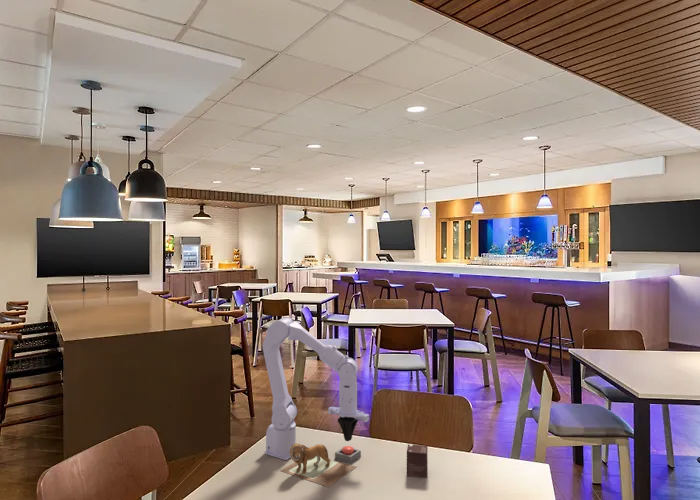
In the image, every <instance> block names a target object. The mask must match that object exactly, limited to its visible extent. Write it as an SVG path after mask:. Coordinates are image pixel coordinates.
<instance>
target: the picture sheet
mask: <svg viewBox="0 0 700 500" xmlns="http://www.w3.org/2000/svg"><path fill="white" fill-rule="evenodd" d="M320 459H321V460H320V462H319V463H318V465H314V463H315V462H317V457H315V458H314V459H312V460H307V465H306V473H302V471H303V463H301V469H300V470H299V471H297V470H296V469H297V468H298V464H297V463H296V462H294V461H293V462H292V463H290V464H289V465H287V466H286V467H284V468H282V469H280V470H279V471H280V472H283V473H286V474H289V475H292V476H295V477H297V478H300V479H303V480H305V481H309V482H311V483H315V484H319V485H322V486H324V487H327V488H329V487H330V486H332V485H334V484H335V483H336V482H339V480H341V479H342V478H344V477H345V476H347V475H348V474H349V473H351V472H352V471H353V470H355V469H356V468H357V466H355V465H351V464H350V463H347V462H343V461H340V460H336V459H335V460H334V459H331V458H329V459H330V461H329V462H330V466H329V467H326V466H325V465H326V464H327V462H326V461H325V460H323V459H322V458H321V457H320Z"/></svg>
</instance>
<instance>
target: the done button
mask: <svg viewBox="0 0 700 500" xmlns="http://www.w3.org/2000/svg"><path fill="white" fill-rule="evenodd" d="M341 449H342V453H343V454H346V455H352V454H353V453H354V449H355V448H354V447H353V446H351V445H347V446H345V445H344V446H343V447H341Z"/></svg>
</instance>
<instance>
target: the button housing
mask: <svg viewBox="0 0 700 500" xmlns="http://www.w3.org/2000/svg"><path fill="white" fill-rule="evenodd" d="M361 457H362V451H361V450H360V449H357V448H354V453H353V454H352V455H346V454H343V453H342V448H340V449H338V450H336V451H335V452H334V459H335V460H336V461H339V462H343V463H346V464H353V463H354V462H355V461H357V460H358V459H360V458H361Z"/></svg>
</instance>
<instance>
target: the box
mask: <svg viewBox="0 0 700 500" xmlns="http://www.w3.org/2000/svg"><path fill="white" fill-rule="evenodd" d="M428 459H429V458H428V445H426V444H425V445H424V444H410V443H408V444H407V449H406V476H407V477H410V478H411V477H413V478H424V479H425V478H427V477H428V470H429V469H428V467H429V466H428V461H429V460H428Z"/></svg>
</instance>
